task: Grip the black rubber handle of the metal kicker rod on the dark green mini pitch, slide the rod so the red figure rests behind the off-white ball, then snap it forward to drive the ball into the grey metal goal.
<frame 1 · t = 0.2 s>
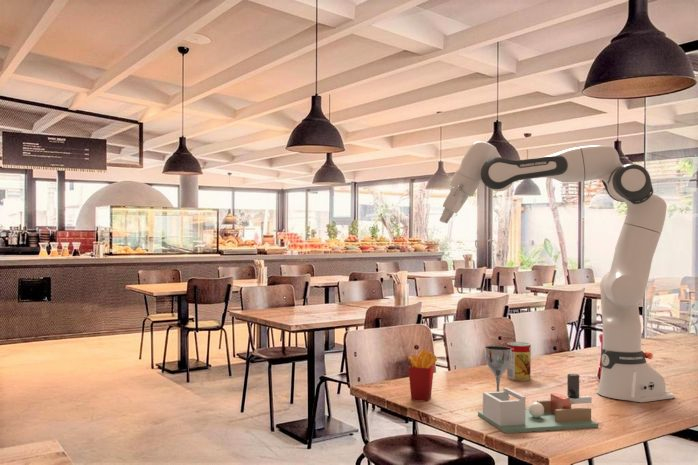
hand: (443, 222, 206), 54 cm above the table, tool tilted 30°, fingers open, 8 cm apart
ball: (536, 409, 162), point 3 cm above the table, touching pitch
french fries: (425, 399, 185), on the table
pitch: (536, 421, 162), on the table
canned food: (518, 378, 214), on the table
kicker: (573, 394, 165), point 7 cm above the table, slide at 0.0 cm
wine glass: (497, 397, 188), on the table
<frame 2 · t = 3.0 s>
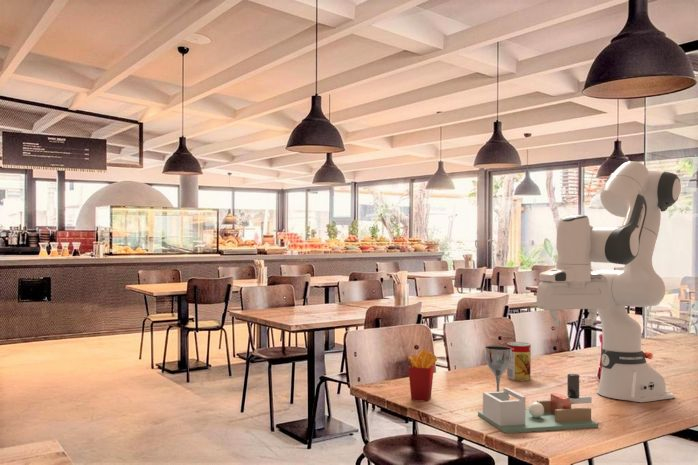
hand: (573, 325, 165), 25 cm above the table, tool pointing down, fingers open, 8 cm apart
nothing on the table moved.
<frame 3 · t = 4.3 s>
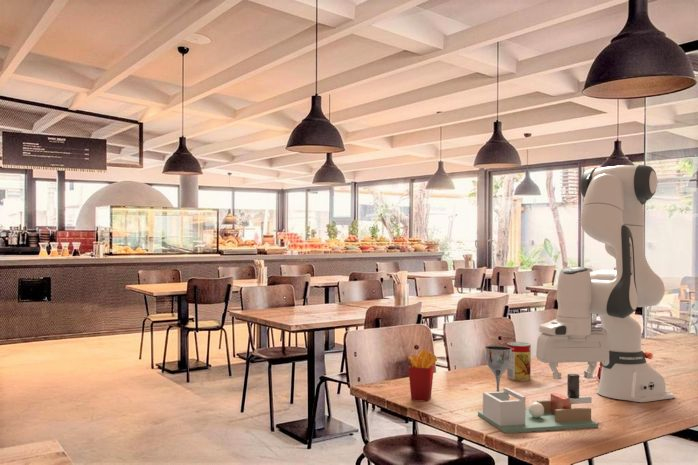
hand: (572, 378, 165), 11 cm above the table, tool pointing down, fingers open, 8 cm apart
nothing on the table moved.
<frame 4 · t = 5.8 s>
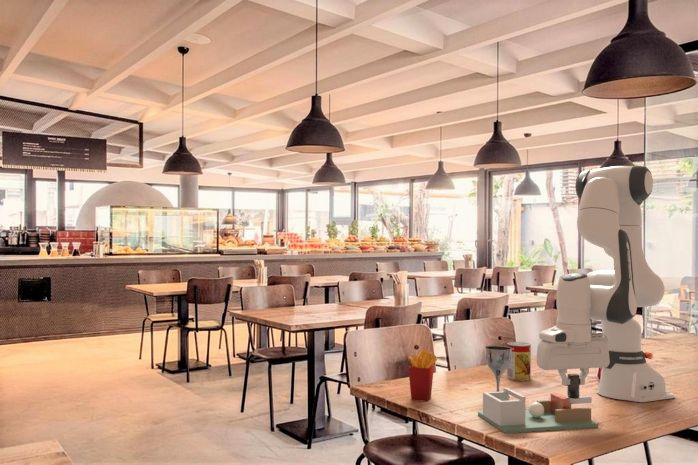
hand: (573, 384, 165), 9 cm above the table, tool pointing down, fingers closed on kicker, 3 cm apart
kicker: (573, 394, 165), point 7 cm above the table, slide at 0.0 cm, touching gripper
everything else where it was.
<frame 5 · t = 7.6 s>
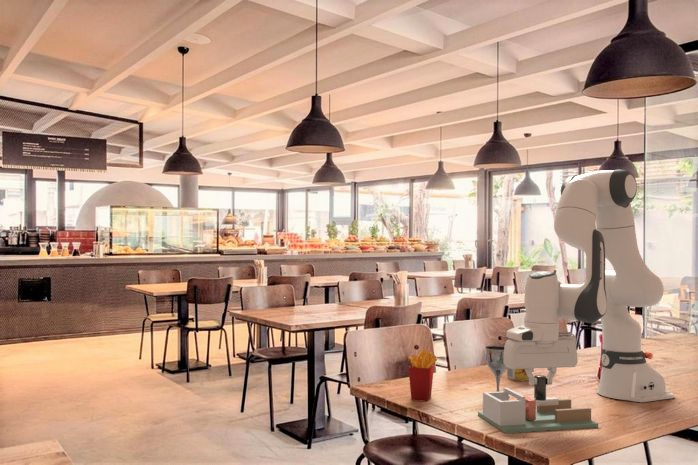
hand: (540, 384, 162), 10 cm above the table, tool pointing down, fingers closed on kicker, 3 cm apart
ball: (513, 411, 161), point 3 cm above the table, tilted 180°, touching pitch
kicker: (540, 396, 163), point 7 cm above the table, slide at 10.0 cm, touching gripper
everything else where it was.
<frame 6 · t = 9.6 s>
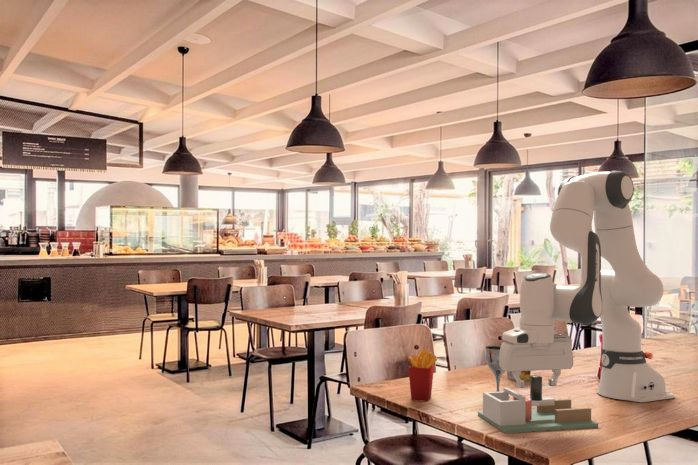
hand: (536, 386, 162), 9 cm above the table, tool pointing down, fingers open, 8 cm apart
ball: (506, 411, 160), point 3 cm above the table, tilted 124°, touching pitch
kicker: (536, 396, 162), point 7 cm above the table, slide at 11.1 cm
everything else where it was.
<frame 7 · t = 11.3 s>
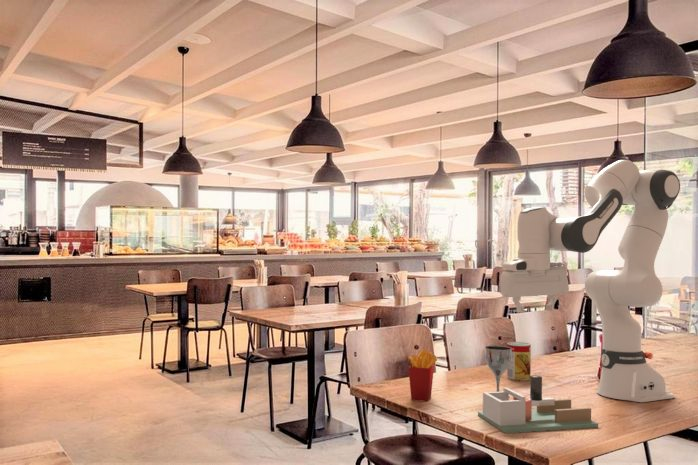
hand: (535, 311, 175), 28 cm above the table, tool pointing down, fingers open, 8 cm apart
ball: (511, 411, 161), point 3 cm above the table, tilted 160°, touching pitch
everything else where it was.
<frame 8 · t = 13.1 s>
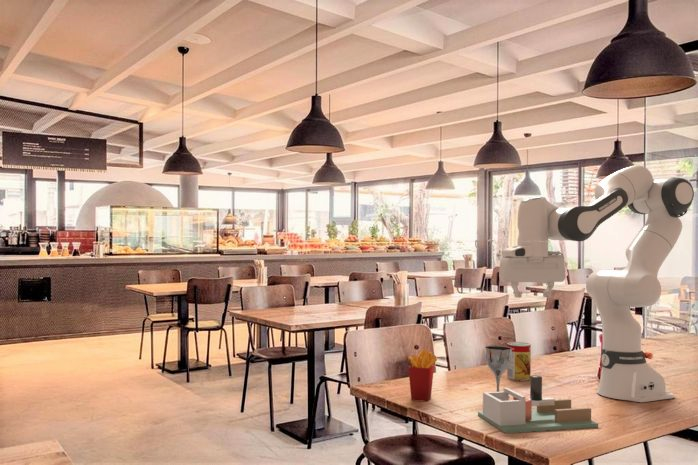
hand: (532, 297, 182), 31 cm above the table, tool pointing down, fingers open, 8 cm apart
nothing on the table moved.
at the end: ball inside the target area (1.8 cm from its centre), point 3.0 cm above the table; kicker slide at 11.1 cm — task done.
